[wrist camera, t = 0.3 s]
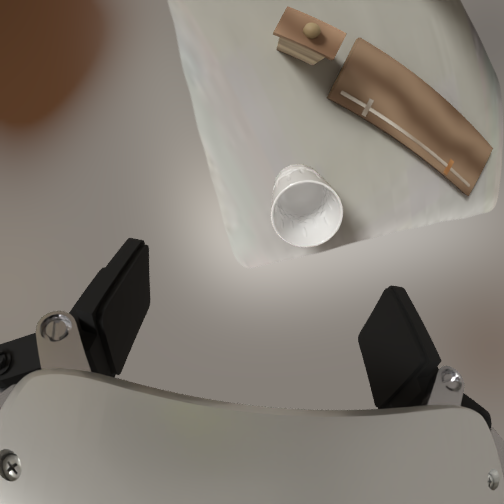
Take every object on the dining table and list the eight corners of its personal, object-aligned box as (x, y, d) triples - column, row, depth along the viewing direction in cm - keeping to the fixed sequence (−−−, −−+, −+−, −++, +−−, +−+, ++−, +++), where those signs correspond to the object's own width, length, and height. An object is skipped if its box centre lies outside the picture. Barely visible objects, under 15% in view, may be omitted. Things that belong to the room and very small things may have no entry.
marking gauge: (282, 26, 27) (288, 3, 18) (328, 47, 28) (349, 31, 19) (271, 47, 28) (273, 30, 20) (317, 68, 29) (335, 58, 21)
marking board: (356, 39, 27) (360, 37, 25) (487, 146, 31) (493, 148, 30) (326, 98, 31) (329, 97, 30) (463, 193, 36) (468, 196, 35)
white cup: (334, 172, 37) (355, 197, 28) (311, 220, 41) (323, 256, 32) (282, 150, 36) (288, 168, 27) (261, 201, 40) (260, 234, 31)
